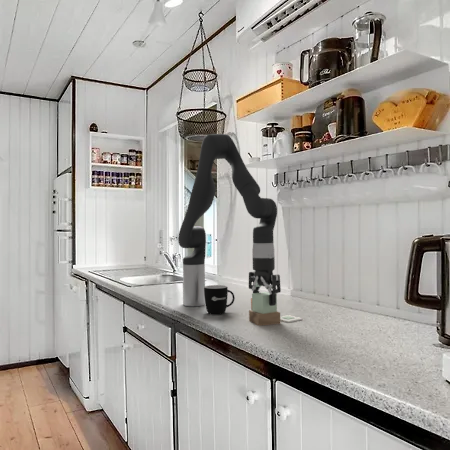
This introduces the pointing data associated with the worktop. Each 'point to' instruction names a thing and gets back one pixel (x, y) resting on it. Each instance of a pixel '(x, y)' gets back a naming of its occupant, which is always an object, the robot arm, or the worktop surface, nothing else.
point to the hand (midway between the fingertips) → (264, 303)
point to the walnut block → (264, 318)
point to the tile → (289, 318)
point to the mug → (217, 299)
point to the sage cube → (262, 303)
